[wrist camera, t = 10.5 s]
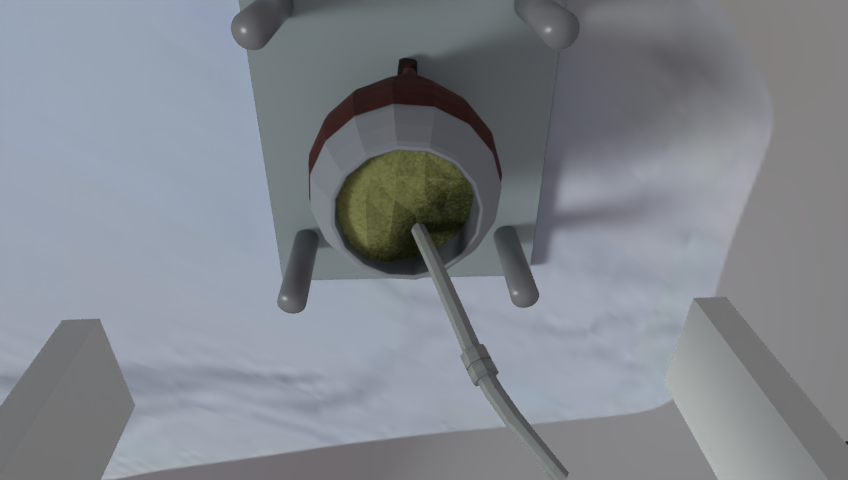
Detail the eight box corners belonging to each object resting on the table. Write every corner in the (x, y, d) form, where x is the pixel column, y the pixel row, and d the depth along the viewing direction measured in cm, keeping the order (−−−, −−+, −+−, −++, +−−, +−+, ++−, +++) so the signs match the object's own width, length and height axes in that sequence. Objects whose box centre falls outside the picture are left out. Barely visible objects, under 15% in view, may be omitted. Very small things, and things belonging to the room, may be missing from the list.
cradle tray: (233, -71, 21) (185, -59, 16) (569, -69, 22) (621, -56, 17) (285, 271, 30) (264, 347, 25) (525, 266, 30) (551, 339, 25)
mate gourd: (323, 40, 23) (237, 231, 10) (512, 57, 23) (655, 253, 11) (323, 201, 27) (262, 484, 14) (485, 211, 27) (566, 488, 15)
